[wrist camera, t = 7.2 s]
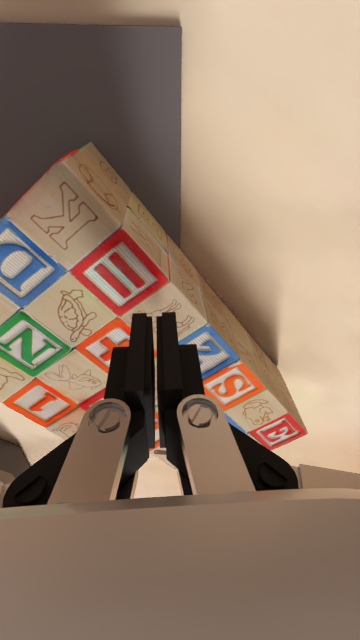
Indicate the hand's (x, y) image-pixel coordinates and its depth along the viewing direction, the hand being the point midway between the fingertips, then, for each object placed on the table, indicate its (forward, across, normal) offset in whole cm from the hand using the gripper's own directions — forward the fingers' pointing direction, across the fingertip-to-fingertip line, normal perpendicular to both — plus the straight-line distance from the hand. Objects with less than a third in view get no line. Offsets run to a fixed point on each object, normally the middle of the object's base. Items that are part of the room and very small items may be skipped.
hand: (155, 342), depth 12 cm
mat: (+9, +4, +1) cm, 10 cm away
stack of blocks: (+5, -4, +2) cm, 7 cm away
